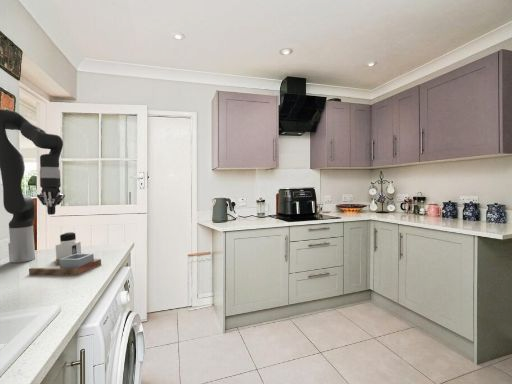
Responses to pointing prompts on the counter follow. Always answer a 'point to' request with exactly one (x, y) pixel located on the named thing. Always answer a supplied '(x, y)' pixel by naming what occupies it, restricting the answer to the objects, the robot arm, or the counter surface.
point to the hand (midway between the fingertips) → (51, 214)
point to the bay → (64, 269)
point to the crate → (76, 260)
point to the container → (67, 246)
